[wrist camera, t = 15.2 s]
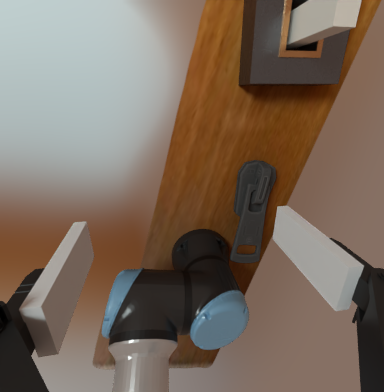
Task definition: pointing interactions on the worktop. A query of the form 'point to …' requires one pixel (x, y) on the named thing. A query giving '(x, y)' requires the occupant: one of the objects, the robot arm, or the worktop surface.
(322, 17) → the white rectangular bar
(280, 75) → the block
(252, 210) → the zipper slider
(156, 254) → the worktop surface
